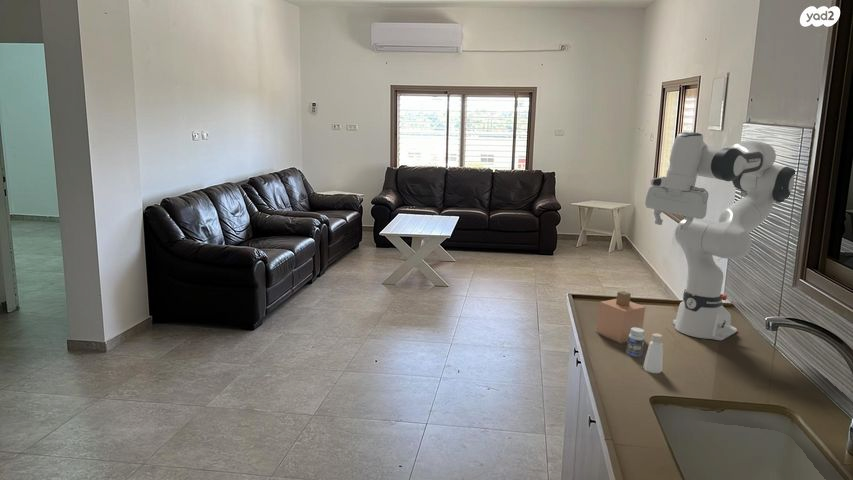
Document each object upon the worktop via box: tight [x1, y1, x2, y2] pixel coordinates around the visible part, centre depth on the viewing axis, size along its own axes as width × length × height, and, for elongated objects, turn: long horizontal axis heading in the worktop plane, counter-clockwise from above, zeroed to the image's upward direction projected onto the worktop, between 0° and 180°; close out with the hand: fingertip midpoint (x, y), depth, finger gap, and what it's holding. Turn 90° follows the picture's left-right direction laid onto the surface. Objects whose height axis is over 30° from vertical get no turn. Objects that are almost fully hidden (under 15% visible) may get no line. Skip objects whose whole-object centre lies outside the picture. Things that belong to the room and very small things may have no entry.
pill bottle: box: [625, 327, 645, 357], centre depth 196 cm, size 5×5×8 cm
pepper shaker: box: [642, 333, 664, 374], centre depth 186 cm, size 5×5×11 cm
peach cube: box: [596, 290, 646, 343], centre depth 210 cm, size 10×10×15 cm
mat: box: [594, 330, 628, 345], centre depth 212 cm, size 12×12×1 cm
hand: (670, 227), depth 200 cm, fingers open, 8 cm apart
